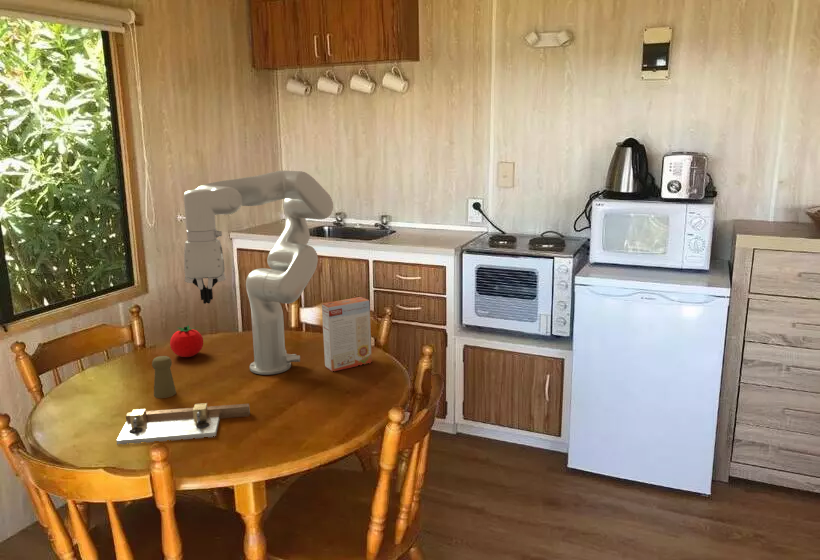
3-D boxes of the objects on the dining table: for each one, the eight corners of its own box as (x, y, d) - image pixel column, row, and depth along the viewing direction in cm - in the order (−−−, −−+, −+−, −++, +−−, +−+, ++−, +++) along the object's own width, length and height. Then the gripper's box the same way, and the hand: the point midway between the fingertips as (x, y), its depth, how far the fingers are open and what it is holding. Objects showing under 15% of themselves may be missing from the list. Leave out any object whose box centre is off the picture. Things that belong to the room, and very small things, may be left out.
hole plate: (250, 410, 183) (249, 395, 182) (246, 434, 169) (245, 417, 168) (130, 419, 178) (128, 404, 177) (117, 444, 164) (115, 428, 163)
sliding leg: (207, 414, 177) (206, 403, 176) (205, 424, 171) (204, 412, 170) (195, 415, 176) (194, 403, 176) (192, 425, 171) (191, 413, 170)
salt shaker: (149, 394, 194) (145, 357, 191) (169, 387, 198) (166, 352, 196) (160, 400, 190) (156, 362, 187) (180, 393, 194) (176, 357, 192)
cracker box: (363, 358, 221) (361, 295, 216) (372, 363, 216) (370, 300, 211) (323, 366, 214) (321, 302, 209) (331, 372, 209) (329, 306, 204)
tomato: (202, 348, 231) (199, 320, 228) (206, 358, 221) (204, 329, 219) (169, 353, 227) (167, 324, 224) (172, 363, 217) (170, 333, 215)
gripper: (231, 232, 187) (236, 297, 192) (174, 234, 185) (180, 300, 189) (229, 237, 180) (234, 304, 185) (170, 239, 178) (176, 307, 182)
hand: (207, 302), depth 187 cm, fingers closed
